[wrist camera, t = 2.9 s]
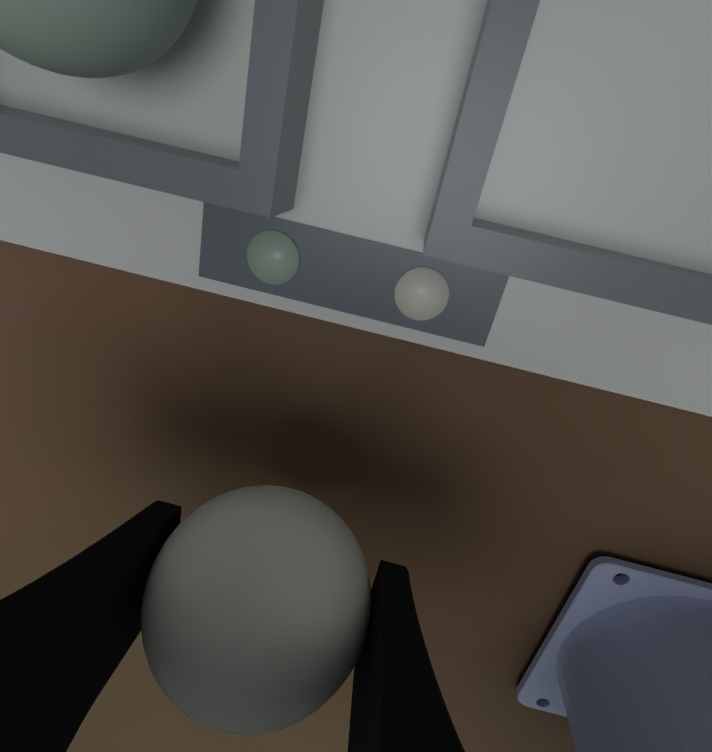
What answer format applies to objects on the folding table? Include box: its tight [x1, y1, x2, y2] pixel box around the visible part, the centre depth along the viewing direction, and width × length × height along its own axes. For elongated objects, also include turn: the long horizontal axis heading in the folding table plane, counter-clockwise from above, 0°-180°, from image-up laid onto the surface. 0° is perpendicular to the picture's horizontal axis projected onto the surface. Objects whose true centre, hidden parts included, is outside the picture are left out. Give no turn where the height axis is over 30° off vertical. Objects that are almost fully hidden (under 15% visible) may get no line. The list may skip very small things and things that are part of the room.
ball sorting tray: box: [0, 0, 712, 417], centre depth 10 cm, size 24×14×3 cm, turn 78°
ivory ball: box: [141, 485, 371, 735], centre depth 11 cm, size 5×5×5 cm
